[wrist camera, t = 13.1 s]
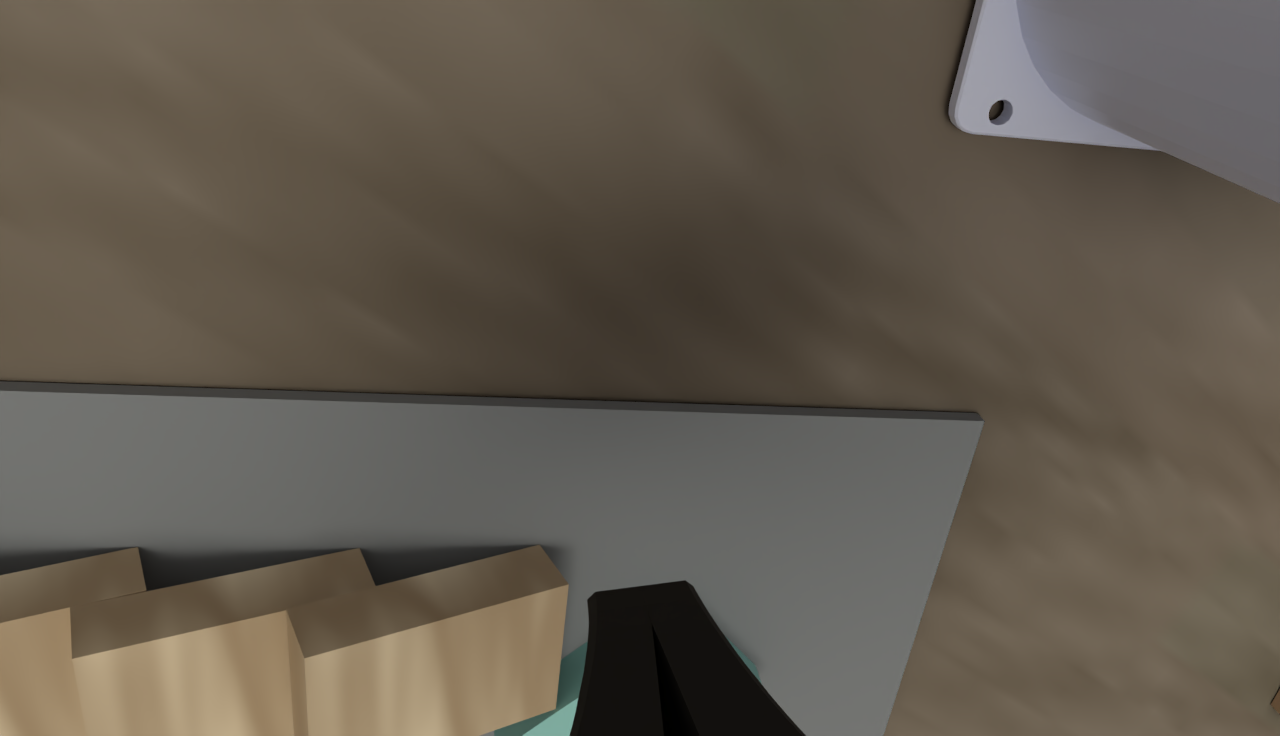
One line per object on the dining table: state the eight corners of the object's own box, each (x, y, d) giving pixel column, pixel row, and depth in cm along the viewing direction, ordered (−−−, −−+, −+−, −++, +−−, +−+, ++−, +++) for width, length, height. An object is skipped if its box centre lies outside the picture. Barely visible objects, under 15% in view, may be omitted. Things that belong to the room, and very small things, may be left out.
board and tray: (1854, 350, 28) (2022, 411, 25) (1568, 726, 35) (1673, 810, 32) (-500, 220, 18) (-704, 297, 15) (-256, 791, 24) (-361, 926, 21)
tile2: (568, 584, 23) (304, 658, 20) (555, 708, 25) (311, 793, 22) (539, 544, 24) (286, 608, 21) (529, 666, 26) (294, 741, 23)
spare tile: (682, 626, 24) (494, 754, 25) (770, 710, 26) (591, 825, 27) (671, 583, 25) (493, 706, 26) (755, 665, 27) (586, 776, 28)
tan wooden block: (377, 589, 22) (71, 659, 19) (377, 718, 24) (98, 798, 21) (359, 547, 23) (69, 607, 20) (361, 672, 25) (95, 743, 22)
